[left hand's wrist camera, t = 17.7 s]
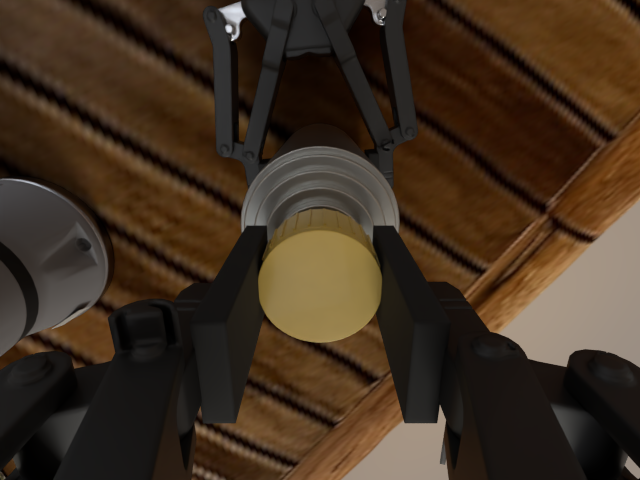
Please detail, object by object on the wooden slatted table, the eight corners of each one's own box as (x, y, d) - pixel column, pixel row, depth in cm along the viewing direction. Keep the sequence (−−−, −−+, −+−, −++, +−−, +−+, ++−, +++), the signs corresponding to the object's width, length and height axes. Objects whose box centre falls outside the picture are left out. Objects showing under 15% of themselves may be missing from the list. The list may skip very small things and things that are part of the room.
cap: (397, 260, 14) (411, 290, 12) (319, 326, 15) (319, 365, 13) (321, 183, 13) (321, 200, 11) (242, 259, 14) (228, 289, 12)
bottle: (302, 216, 37) (274, 403, 14) (265, 146, 35) (159, 233, 12) (372, 183, 36) (466, 327, 13) (339, 108, 34) (380, 122, 11)
